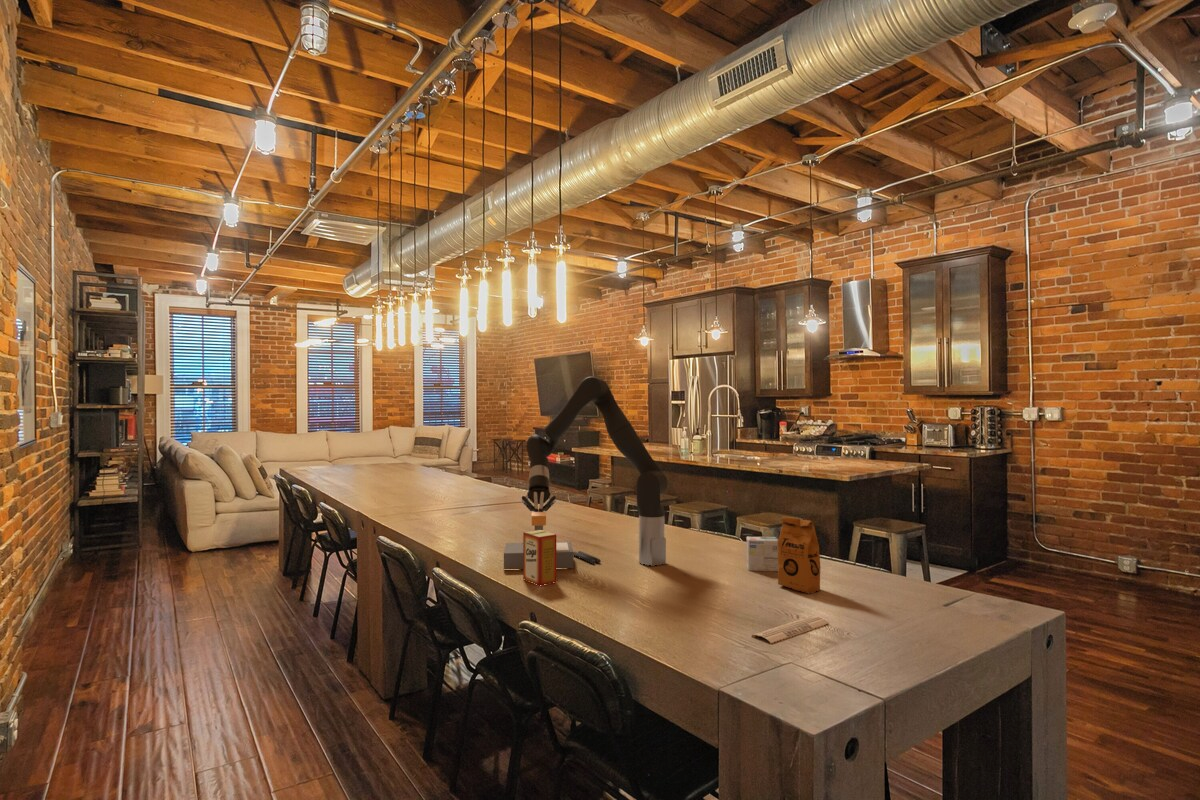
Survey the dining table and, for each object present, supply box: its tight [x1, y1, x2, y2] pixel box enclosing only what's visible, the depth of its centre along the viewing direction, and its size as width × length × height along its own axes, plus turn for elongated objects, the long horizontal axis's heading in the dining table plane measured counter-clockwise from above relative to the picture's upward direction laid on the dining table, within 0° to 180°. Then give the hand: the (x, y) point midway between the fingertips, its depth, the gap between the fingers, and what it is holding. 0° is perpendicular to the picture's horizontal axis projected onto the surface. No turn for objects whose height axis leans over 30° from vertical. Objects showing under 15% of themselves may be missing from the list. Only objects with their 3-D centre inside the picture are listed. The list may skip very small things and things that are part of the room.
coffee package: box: [777, 516, 821, 595], centre depth 201 cm, size 10×12×22 cm
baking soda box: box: [522, 529, 557, 587], centre depth 208 cm, size 10×6×16 cm
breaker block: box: [503, 541, 574, 570], centre depth 230 cm, size 16×24×9 cm, turn 95°
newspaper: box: [751, 615, 830, 644], centre depth 164 cm, size 24×7×2 cm, turn 126°
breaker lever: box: [531, 511, 547, 531], centre depth 227 cm, size 2×5×13 cm, turn 95°
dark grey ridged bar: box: [573, 550, 602, 565], centre depth 237 cm, size 16×4×2 cm, turn 31°
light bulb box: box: [745, 536, 779, 572], centre depth 224 cm, size 11×7×11 cm, turn 84°
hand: (538, 519), depth 227 cm, fingers closed
